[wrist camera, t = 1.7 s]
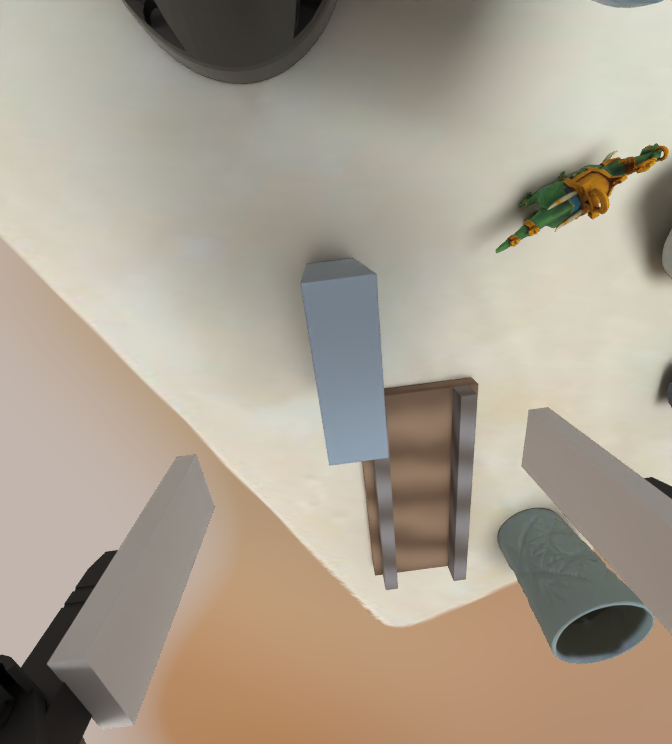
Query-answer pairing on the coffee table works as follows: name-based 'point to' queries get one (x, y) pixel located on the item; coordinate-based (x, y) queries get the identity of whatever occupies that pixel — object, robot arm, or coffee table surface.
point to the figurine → (581, 192)
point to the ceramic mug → (667, 255)
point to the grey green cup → (572, 589)
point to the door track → (423, 480)
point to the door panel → (347, 358)
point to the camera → (670, 394)
